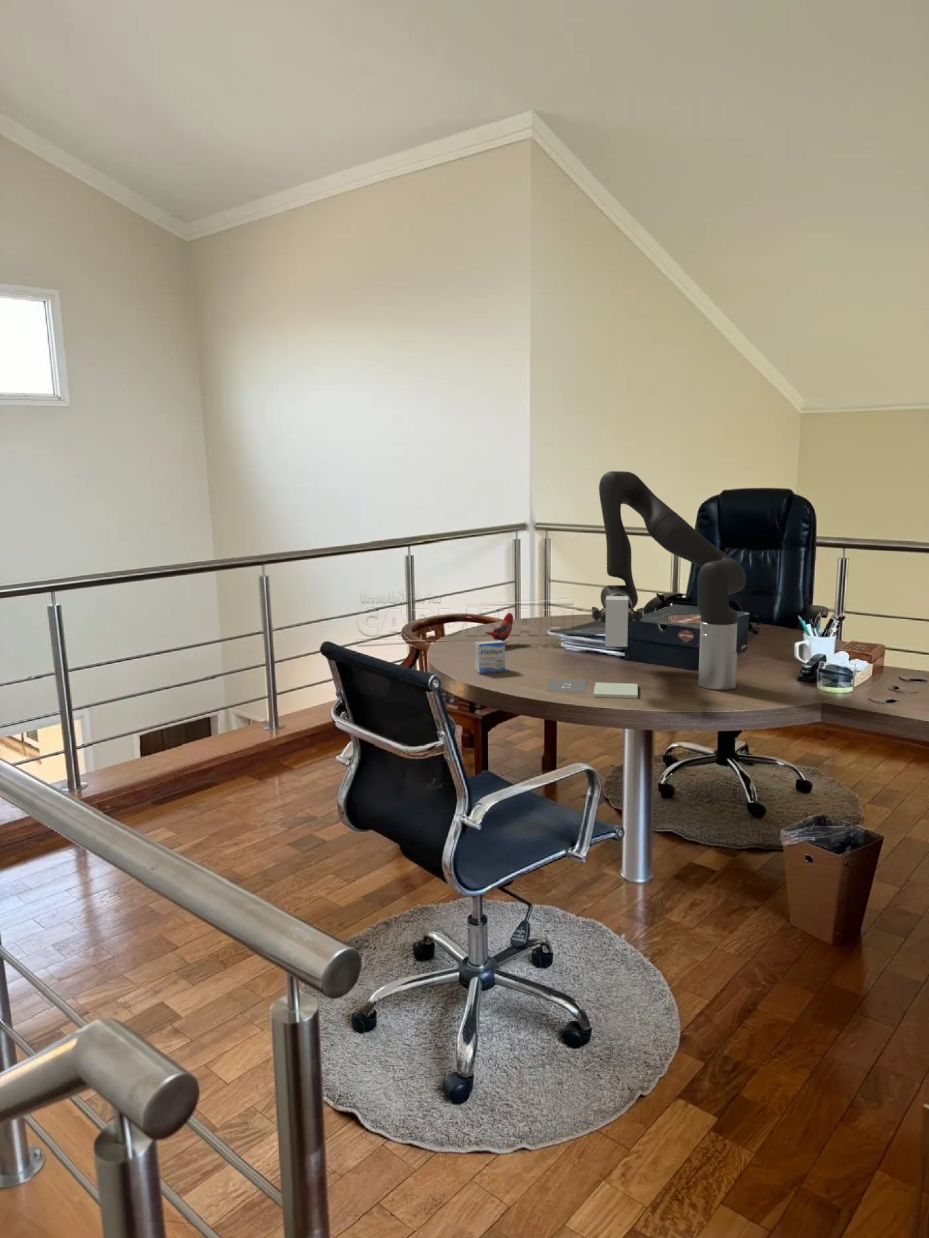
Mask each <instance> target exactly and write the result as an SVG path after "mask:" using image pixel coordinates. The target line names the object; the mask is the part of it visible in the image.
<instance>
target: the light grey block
mask: <svg viewBox="0 0 929 1238" xmlns="http://www.w3.org/2000/svg"><path fill="white" fill-rule="evenodd" d="M628 627H629V624H628V596H606V623H605V632H604V633H605V634H604V635H605V638H604V639H605V640H604V646H605V647H616V648H617V647H623V648H625V647H626V648H628V639H629V638H628V637H629V636H628V631H629V630H628V629H629V628H628Z"/></svg>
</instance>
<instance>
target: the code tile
mask: <svg viewBox="0 0 929 1238" xmlns="http://www.w3.org/2000/svg"><path fill="white" fill-rule="evenodd" d="M587 682H588V680H580V679H579V680H575V679H574V680H573V679H549V682H548V684H547V687H546V689H545V692H548V693H549V692H550V693H551V692H552V693H553V692H554V693H580V694H582V693H583V694H584V693H586V692H585V691H586V687H587Z"/></svg>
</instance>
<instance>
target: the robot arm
mask: <svg viewBox="0 0 929 1238" xmlns="http://www.w3.org/2000/svg"><path fill="white" fill-rule="evenodd" d="M598 492H599V494H598V495H599V499H600V500H599V501H600V507H601V513H602V519H603V525H604V532H605V540H606V541H605V542H606V574H607V576H609V577H612V578H616V579H621V580H622V581H623V582H624V584H618V585H616V584H613V585H611V584H610V585H606V586H604V587H603V588H602V589H601V592H600V603H601V605H602V608H600V609H599V608H598V607H596V606H592V607H591V618H592V619H593V620H594V621H595V622H596V621H599V620H600V622H602V624H606V596H628V625H630V624H631V623H634V620H635V622H641V621H642V620H643V619H644V618H645V617H644V616H645V614H644V613H645V608H644V607H639V608H637V609H636V610H635V609H634V608H635V607H636V606H637V604H638V601H639V596H638V592H637V589H636V586H635V582H634V579H633V571H632V569H633V568H632V546H631V542H630V538H629V536H628V533H627V532H626V531H627V530H626V529H625V527H624V524H623V519H622V511H621V510H622V509H621V508H622V505H627V506H628V507H630V508H631V509H633V511H635V512H636V513H638V515H640V516H641V518H642V519H643V522H644V525H645V528H646V531H647V533H648V534H649V536H650V537H651V538H652V539H653V540H654V541H655V542H656V543H657V544H658V545H660V546H661V547H662V548H663V549H664V550H665V551H667V552H669V553H671V554H673V555H675V556H677V557H679V558H681V559H683V560H686V561H688V562H689V563H690V562H691V563H692V564H694V565H696V566H697V567H699V568H700V569H699V572H698V575H697V608H698V613H699V615H700V624H699V625H700V627H699V630H700V632H699V655H698V657H699V658H698V685H699V686H700V687H702V688H704V689H709V690H729V689H730V690H731V689H736V686H737V665H738V664H737V663H738V652H737V638H738V635H737V634H738V612H737V610H735V609H733V608H731V607H730V605H729V595H733V594H736V593H738V592H740V591H742V590H743V589H744V588H745V585H746V582H747V576H746V572H745V569H744V568H743V567H742V565H741V564H740V563H739V562H738V561H737V560H735V559H734V558H732V557H731V556H729V555H728V554H726V553H725V552H723V551H722V550H720V549H719V548H718V547H717V546H715V545H714V544H712V543H711V542H710V541H709V540H708V539H707V538H706V537H704V536H703V535H702V534H701V533H700V532H698V531H697V530H696V529H695V528H694V527H692V525H690V524H689V523H688V522H687V521H686V520H685V519H684V518H683V517H682V516H680V515H679V514H678V513H677V512H676V511H674V510H673V509H672V508H671V507H670V506H668V505H667V504H666V503H665V502H664V501H663V500H662V499H660V498H659V497H657V496H656V494H654V492H653V491H652V489H650V488H649V487H648V486H647V485H646V484H645V483H644V482H643V480H641V478H640V477H639V476H638V475H636V474H635V473H633V472H630V471H621V470H619V471H618V470H616V471H615V470H614V471H613V470H612V471H607V472H606V473H604V474H603V475H602V477H601V478H600V481H599V485H598Z"/></svg>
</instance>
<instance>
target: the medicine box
mask: <svg viewBox="0 0 929 1238" xmlns="http://www.w3.org/2000/svg"><path fill="white" fill-rule="evenodd" d="M505 643H506V642H504V641H501V640H495V639H494V640H485V641H474V643H473V644H474V670H475V671H476V672H477V673H478V674H479V675H483V674H485V675H486V674H494V673H500V672H501V673H502V672H506V647H505V646H506V644H505Z"/></svg>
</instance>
